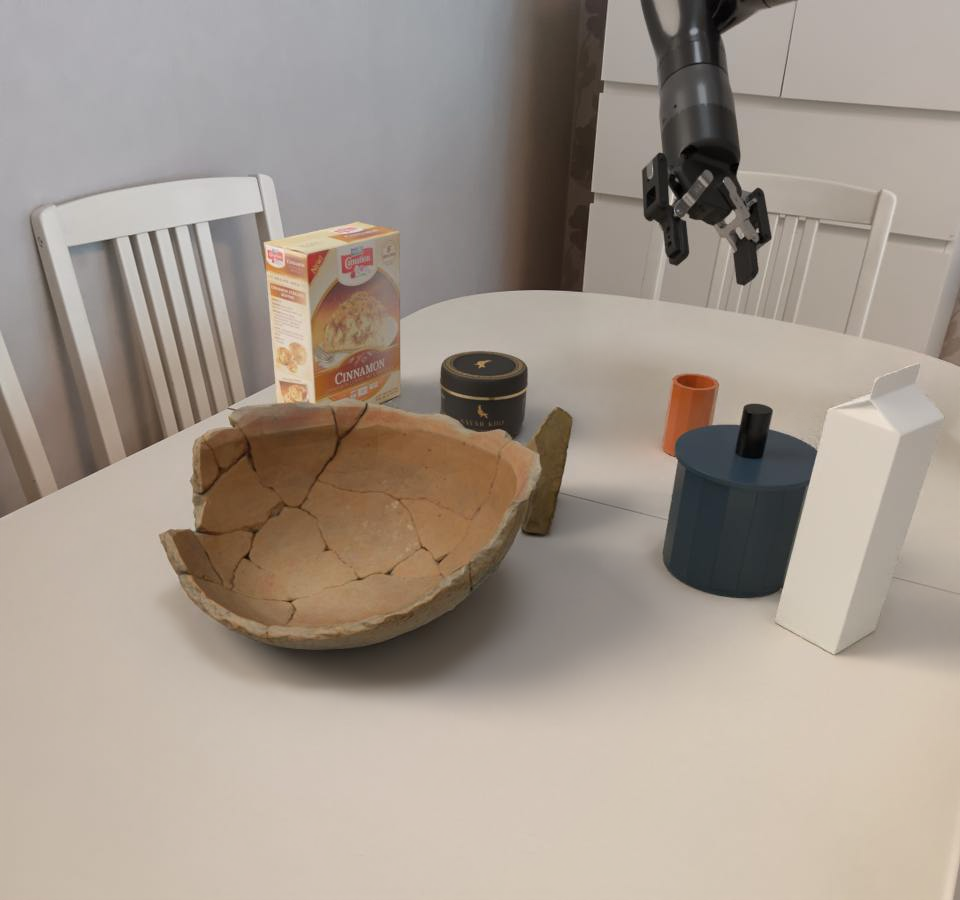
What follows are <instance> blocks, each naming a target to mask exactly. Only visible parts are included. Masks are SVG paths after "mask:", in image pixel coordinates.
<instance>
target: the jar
mask: <svg viewBox="0 0 960 900" xmlns="http://www.w3.org/2000/svg"><path fill="white" fill-rule="evenodd" d="M528 380H529V370H528V366H527V363H525V361H523V360H522V359H521V358H518V357H517V356H515V355H512V354H507V353H503V352H498V351H489V350H475V351H464V352H459V353H455V354H452V355H450V356H448V357H446V358H445V359H443V361H442V362H441V366H440V378H439V385H440V414H443V415H447V416H450V417H452V418H454V419H456V420H458V421H459V422H460V423H461V424H462V425H463V426H464V427H465V428H466V429H469V430H473V431H476V432H487V431H492V430H497V429H500V430H504V431H506V432H507V433H508V434H509V435H510V436H511V437H512V438H514V437H515V436H516V435H517V434H518V433H519V432H520V431H521V429H522V427H523V423H524V421H525V415H526V404H527V389H528V385H529V382H528Z"/></svg>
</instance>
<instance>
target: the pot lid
mask: <svg viewBox="0 0 960 900" xmlns="http://www.w3.org/2000/svg"><path fill="white" fill-rule="evenodd" d="M773 413H774V410H773V408H771V407H770V406H768V405H766V404H762V403H748V404H745V405H744V406H743V407H742V413H741V419H740V423H739V424H712V425H711V426H704V427H699V428H695V429H692V430H690V431H688V432H686V433H684V434H682V435H681V436H680V437H679V438H678V439H677V441H676V443H675V448H674V453H675V456H676V457H675V459H676V460H677V462H678V461H679V462H680V464H681V465H683V466H684V467H685V468H686V469H688V470H689V471H691V472H692V473H694V474H696V475H698V476H700V477H702V478H704V479H707V480H710V481H712V482H715V483H719V484H722V485H726V486H730V487H735V488H740V489H747V490H756V491H785V490H793V489H798V488H802V487H805V486H808V485H809V483H810V479H811V475H812V471H813V467H814V463H815V459H816V455H817V451H818V449H816V448H815V447H814V446H812V445H811V444H809V443H807V442H806V441H804V440H802V439H799V438H798V437H796V436H794V435H790V434H788V433H786V432H785V433H784V432H782V431H778V430H774V429H770V427H771V422H772V418H773Z"/></svg>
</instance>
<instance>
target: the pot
mask: <svg viewBox="0 0 960 900" xmlns="http://www.w3.org/2000/svg"><path fill="white" fill-rule="evenodd" d="M808 487H809V485H808V486H805V487H802V488H798V489H793V490H785V491H756V490H747V489H740V488H735V487H730V486H726V485H722V484H719V483H715V482H712V481H710V480H707V479H704V478H702V477H700V476H698V475H696V474H694V473H692V472H691V471H689V470H688V469H686V468H685V467H684V466H683V465H681V464H680V462H679V461H678V460H677V464H676V469H675V474H674V481H673V487H672V493H671V500H670V506H669V510H668V512H669V513H668V518H667V524H666V530H665V536H664V541H663V549H662V562H663V564H664V566H665V568H666V569H667V571H668V572H669V573H670V574H671V575H672V576H673V577H675V579H677V580H678V581H681V583H683V584H685V585H687V586H689V587H691V588H694V589H695V590H699V591H702V592H705V593H708V594H712V595H716V596H721V597H729V598H756V597H763V596H768V595H771V594H774V593H776V592H778V591H780V590H781V589H783V586H784V582H785V578H786V574H787V570H788V566H789V562H790V558H791V554H792V550H793V546H794V543H795V539H796V535H797V531H798V527H799V523H800V519H801V515H802V511H803V507H804V503H805V499H806V495H807V491H808Z"/></svg>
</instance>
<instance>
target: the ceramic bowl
mask: <svg viewBox="0 0 960 900" xmlns="http://www.w3.org/2000/svg"><path fill="white" fill-rule="evenodd" d="M227 417H228V421H229V425H230V426H229V427H228V426H227V427H225V426H224V427H223V426H221V427H216V428H213V429H209V430H207V431H206V432H204V433H203V434H202V435H201V436H199V437H198V438H196V439H195V440H194V442H193V445H192V463H191V465H192V472H193V473H192V475H191V477H190V480H189V482H190V484H191V487H192V500H191V502H192V505H193V506H194V508H193V511H192V514H193V517H194V527H195V528H194V529H195V530H191V529H192V528H178V529H177V528H176V529H174V528H170V529H168V530H165V531H163V532H161V533H159V534H158V537H159V541H160V544H161V545H162V547H163V549H164V551H165V554H166V558H167V559H168V562H169V564H170V565H171V567H172V569H173V571H174V572H175V573H176V575H177V578H178V580H179V584H180V586H181V587H182V589H183V590H184V592H185V593H186V595H187V597H188V599H190V600H191V601H192V602H193V604H194V605H195V606H196V607H198V608H199V609H200V610H201V611H202V612H204V613H206V614H207V615H208V616H210V618H212V619H213V620H215V621H216V622H218V623H220V624H221V625H222V626H224V627H226V628H227V629H229V631H230V630H231V631H233V632H236V633H238V634H240V635H243V636H244V637H247V638H249V639H251V640H255V641H258V642H261V643H264V644H267V645H271V646H273V647H278V648H287V649H291V650H292V649H293V650H309V651H310V650H311V651H312V650H314V651H316V650H317V651H318V650H319V651H322V650H325V651H326V650H339V649H340V650H341V649H342V650H343V649H354V648H363V647H367V646H371V645H375V644H380V643H384V642H387V641H389V640H391V639H395V638H397V637H399V636H401V635H403V634H406V633H409V632H411V631H414V630H416V629H418V628H420V627H422V626H425V625H427V624H428V623H430V622H432V621H433V620H435V619H437V618H439V617H441V616H442V615H444V614H446V613H448V612H451V611H453V610H455V609H456V607H457V605H458V604H460V603H461V602H462V601H464V600H465V599H466V598H467V597H468V596H470V595H471V594H472V593H473V592H474V591H475V590H477V589H478V588H479V587H480V586H481V585H482V584H483V583H484V582H485V581H486V580H487V579H488V578H489V577H490V576H491V575H492V574H493V572H495V571H496V570H497V569H498V568H499V567H500V565H501V564H502V562H503V560H504V559H505V557H506V555H507V554H508V552H509V551H510V549H511V548H512V545H513V544H514V543H515V540H516V538H517V535H518V533H519V531H520V529H521V527H522V521H523V517H524V512H525V506H526V503H527V501H528V499H529V497H530V495H531V494H532V492H533V491H534V490H535V487H536V485H537V483H538V482H539V480H540V477H541V465H540V457H541V456H540V454H538V453H537V452H534V451H532V450H531V449H529V448H527V447H524V446H525V445H523V444H522V443H521V442H519V441H517V440H515V439H513V437H511V436H510V435H509V434H508V433H507V432H506V431H504V430H500V429H497V430H492V431H487V432H476V431H473V430H469V429H466V428H465V427H464V426H463V425H462V424H461V423H460V422H459V421H458V420H456V419H454V418H452V417H450V416H447V415H443V414H441V413H432V414H425V413H418V412H412V411H407V410H404V409H400V408H397V407H392V406H388V405H384V404H382V403H379V404H372V403H366V402H363V401H360V400H357V399H352V398H343V399H340V400H338V401H335V402H332V403H329V404H328V405H319V404H314V403H310V402H292V403H277V402H275V403H264V404H253V405H245V406H241V407H238V408H237V409H235V410H232V412H231V413H230V414H229V415H228V416H227Z"/></svg>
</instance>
